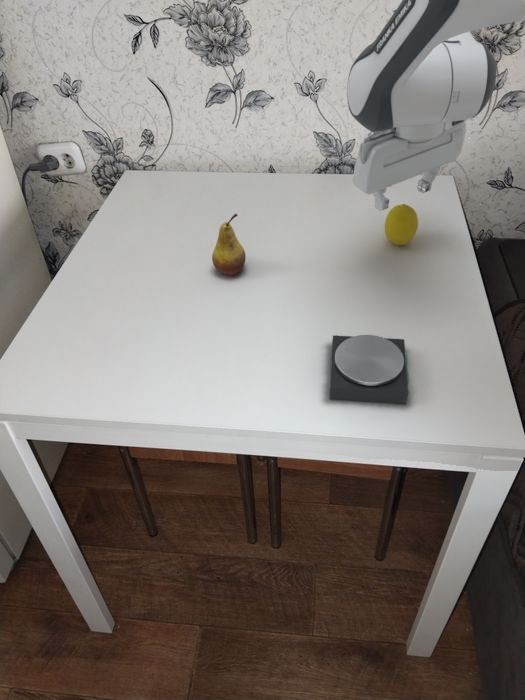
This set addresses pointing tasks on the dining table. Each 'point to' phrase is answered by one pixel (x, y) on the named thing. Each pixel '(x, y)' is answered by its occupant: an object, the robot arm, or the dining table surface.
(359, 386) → the scale
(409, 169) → the robot arm
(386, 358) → the scale pan
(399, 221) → the lemon
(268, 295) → the dining table surface
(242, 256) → the fruit
